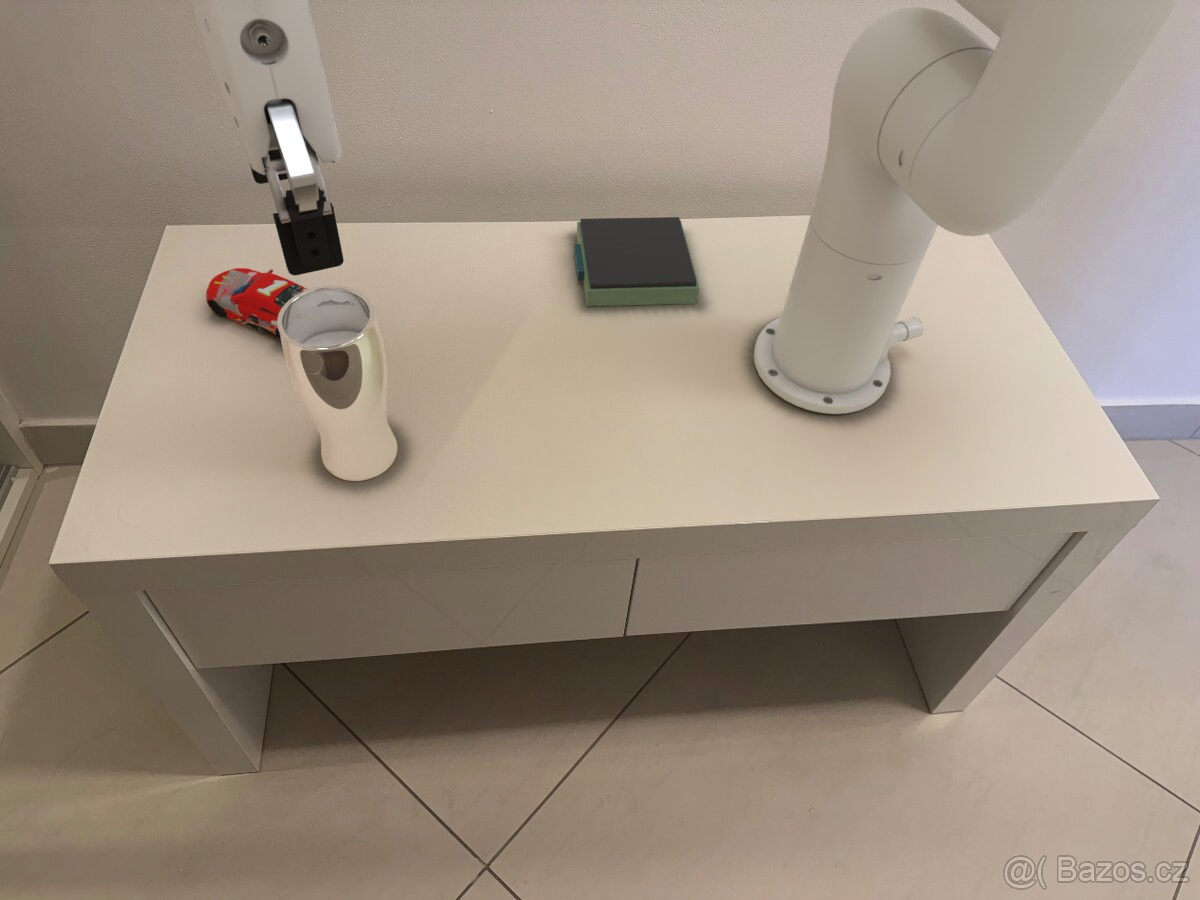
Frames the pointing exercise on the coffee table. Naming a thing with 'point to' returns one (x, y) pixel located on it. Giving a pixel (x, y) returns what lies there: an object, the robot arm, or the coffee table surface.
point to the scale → (634, 262)
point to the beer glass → (340, 377)
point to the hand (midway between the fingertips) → (297, 220)
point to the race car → (251, 297)
